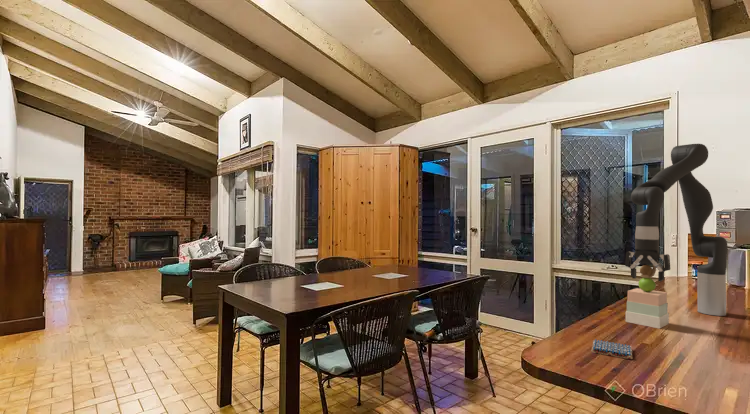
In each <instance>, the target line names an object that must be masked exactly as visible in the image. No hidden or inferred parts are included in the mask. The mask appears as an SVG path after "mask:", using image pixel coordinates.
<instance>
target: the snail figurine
mask: <svg viewBox="0 0 750 414" xmlns="http://www.w3.org/2000/svg"><path fill="white" fill-rule="evenodd" d="M639 271H640V277H641V278H640V280H638V287H639V289H641V290H643V291H645V292H651V291H655V289H656V287H657V286H656V282H655V280H654V279H652V278H653V277H654V276H655V275H656V271H657V268H656V267H655V266H654V265H653V264H652V266H651V265H649V264H642V266H640V268H639Z"/></svg>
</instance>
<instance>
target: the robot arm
mask: <svg viewBox="0 0 750 414" xmlns="http://www.w3.org/2000/svg"><path fill="white" fill-rule="evenodd" d="M708 158H709V150H708V147H707V146H706V145H705V144H703V143H689V144H682V145H675V146H673V148H672V149H671V152H670V160H671V163H672V165H669V166H667V167H665V168H663V169H662V170H660V171H658V172H657V173H656V174H655V175H653V177H651V179H650V180H646V181H644V182H643V183H641V184H640V185H637V187H635V188H634V189H633V190H632V192H631V195H630V200H631V202H632V203H633V204H635V205H637V206H647V207H646V209H644V210H641V211H638V212H637V213H636V215H635V218H636V219H635V234H634V237H635V240H634V243H635V245H634V247H635V249H634V251H626V252H625V261H624V266H625V267H628V268H629V269H630V277H631V278H632V279H637V267H638V266H639V265H640V264H641V265H649V266H651V265H652V266H653V265H654V266H655V267H656V270H658V273H657V276H658V277H657V278H658V279H657V280H658V282H663V281H664V280H665V272H666V271H671V259H670V257H671V256H670V255H669V254H668V253H667V254H666V253H665V254H661V253H660V232H659V231H660V230H659V215H660V212H661V208H662V206H663V204H664V203H663V202H664V199H665V194H664V193H665V192H666V193H667V191H668V190H670V189H671V187H673V186H674V185H675V184H676V183H677V182H678V184H679V186H680V193H681V196H682V200H683V206H684V209H685V213H686V216H687V221H688V227H689V231H690V232H689V233H690V240H691V248H692V252H693V253H694V254H695V255H696V256H697V257H699V258H700V257H701V258H712V261H711V262H709V263H705V264H701V265H698V266H697V270H696V271H697V279H696V280H697V292H696V293H697V313H700V314H704V315H710V316H721V317H723V316H727V267H728V266H727V265H728V249H729V247H728V245H729V244H728V241H727V239H726V238H725V237H723V236H714V235H713V236H711V235H705V234H704V225H705V224H706V221H708V219H709V218H710V216H711V214H712V212H713V210H714V205H713V199H712V195H711V192H710V191H709V190H708V189H707V187H706V186H704V184H702V183H701V182H700V181H699V180H698V179H697V178H696V177H695V176H694V175H693V171H695V170H696V169H697V168H699V167H701V166H702V165H704V164H706V162H707V160H708ZM633 257H635V259H636V260H635V261H633V263H632V258H633ZM660 259H662V261H663V265H664V266H662V264H661V263H660V261H659V260H660Z"/></svg>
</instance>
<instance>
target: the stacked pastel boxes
mask: <svg viewBox="0 0 750 414" xmlns="http://www.w3.org/2000/svg"><path fill="white" fill-rule="evenodd" d="M667 294H668V292H665V291H661V290H660V291H658V290H653V291H651V292H645V291H643V290H641V289H640V287H639V288H638V287H636V288H633V289H630V290H629V289H628V290H627V300H626V311H625V322H626V323H631V324H636V325H640V326H645V327H650V328H654V329H661V328H663V327H665V326H667V325H669V324H670V320H669V319H670V317H669V316H670V315H669V314H670V313H669V312H668V310H669V309H668V301H667V300H668V299H667V298H668V297H667V296H668V295H667Z"/></svg>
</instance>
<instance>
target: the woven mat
mask: <svg viewBox="0 0 750 414" xmlns="http://www.w3.org/2000/svg"><path fill="white" fill-rule="evenodd" d="M591 346H592V347H591V353H594V354H599V355H605V356H611V357H617V358H622V359H627V360H632V359H633V358H634V357H633V350H632V346H631V345H629V344H628V345H627V343H626V344H623V343H617V342H616V343H615V342H614V341H613V342H611V341H610V342H609V341H605V340H599V339H598V340H597V338H595V339H594V340H592V345H591Z"/></svg>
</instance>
